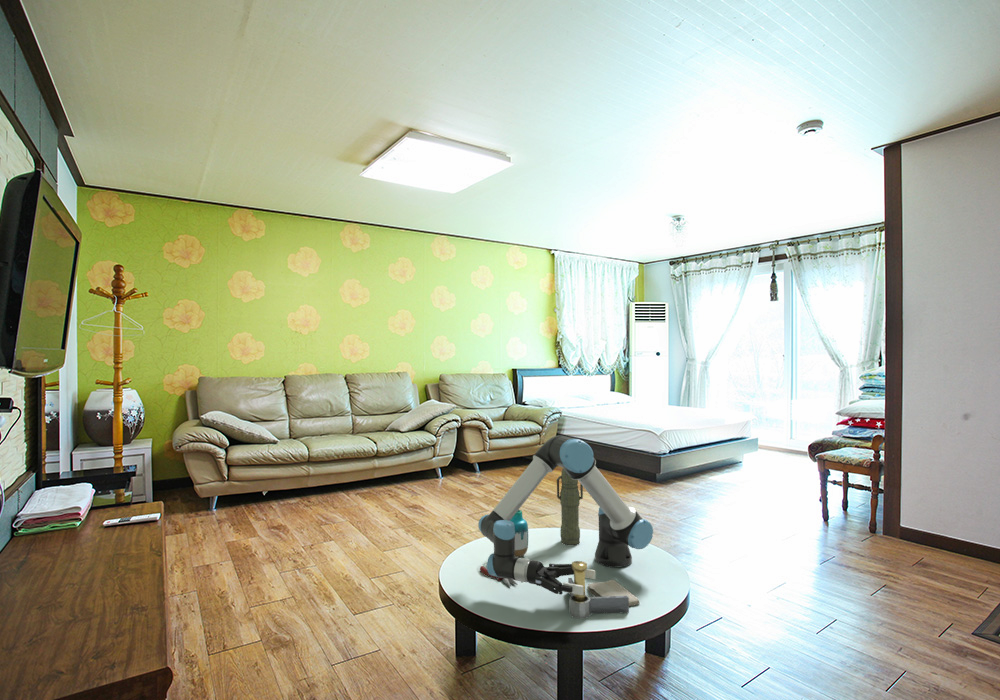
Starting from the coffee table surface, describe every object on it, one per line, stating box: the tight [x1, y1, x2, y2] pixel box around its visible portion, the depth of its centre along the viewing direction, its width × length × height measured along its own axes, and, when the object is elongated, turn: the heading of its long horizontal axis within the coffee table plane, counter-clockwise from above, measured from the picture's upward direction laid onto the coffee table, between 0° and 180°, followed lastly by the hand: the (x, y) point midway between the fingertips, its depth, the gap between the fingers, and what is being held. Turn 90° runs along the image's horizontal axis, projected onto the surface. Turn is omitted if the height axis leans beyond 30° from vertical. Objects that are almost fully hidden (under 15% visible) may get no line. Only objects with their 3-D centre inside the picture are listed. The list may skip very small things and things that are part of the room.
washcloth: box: [587, 579, 640, 607], centre depth 184 cm, size 12×18×3 cm, turn 20°
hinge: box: [567, 577, 630, 620], centre depth 178 cm, size 20×20×5 cm
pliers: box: [479, 565, 518, 588], centre depth 201 cm, size 12×20×3 cm, turn 25°
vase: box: [510, 509, 529, 558], centre depth 223 cm, size 11×11×19 cm
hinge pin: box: [571, 560, 588, 602], centre depth 171 cm, size 5×5×16 cm
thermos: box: [556, 468, 584, 546], centre depth 239 cm, size 9×12×35 cm
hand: (589, 582), depth 170 cm, fingers open, 13 cm apart
